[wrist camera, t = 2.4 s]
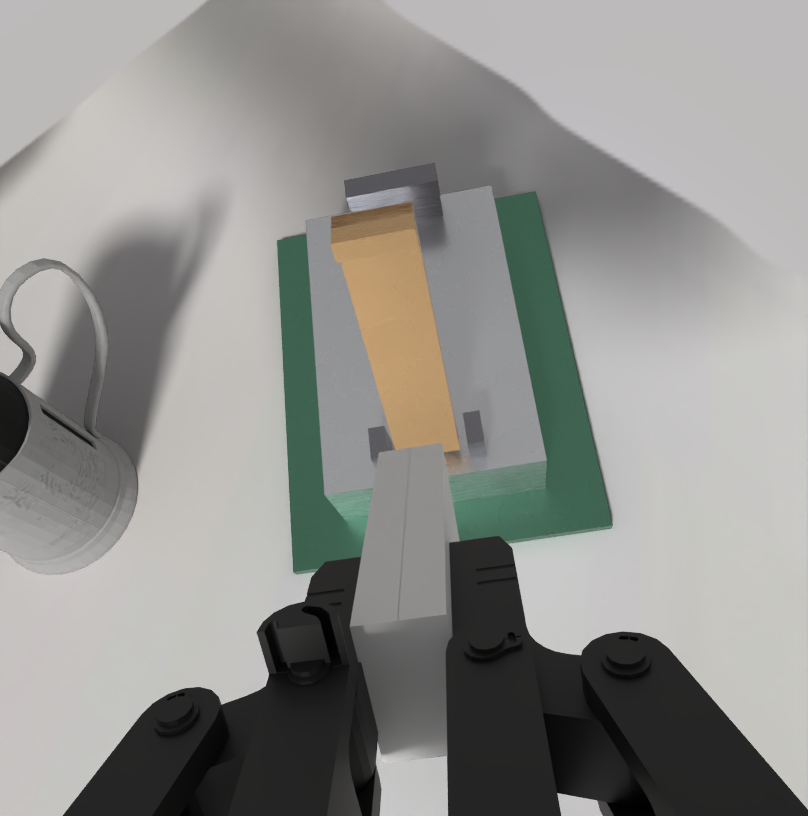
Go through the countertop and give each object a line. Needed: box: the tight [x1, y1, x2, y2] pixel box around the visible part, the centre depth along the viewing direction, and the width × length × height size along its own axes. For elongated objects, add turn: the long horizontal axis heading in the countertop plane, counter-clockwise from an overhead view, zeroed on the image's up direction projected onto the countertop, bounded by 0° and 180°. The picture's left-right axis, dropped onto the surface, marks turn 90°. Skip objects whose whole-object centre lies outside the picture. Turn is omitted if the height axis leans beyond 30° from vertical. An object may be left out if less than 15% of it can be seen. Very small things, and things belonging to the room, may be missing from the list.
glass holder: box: [0, 258, 138, 575], centre depth 39 cm, size 9×14×15 cm, turn 146°
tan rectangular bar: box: [331, 201, 460, 452], centre depth 32 cm, size 14×3×2 cm
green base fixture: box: [277, 163, 613, 574], centre depth 42 cm, size 22×17×8 cm
